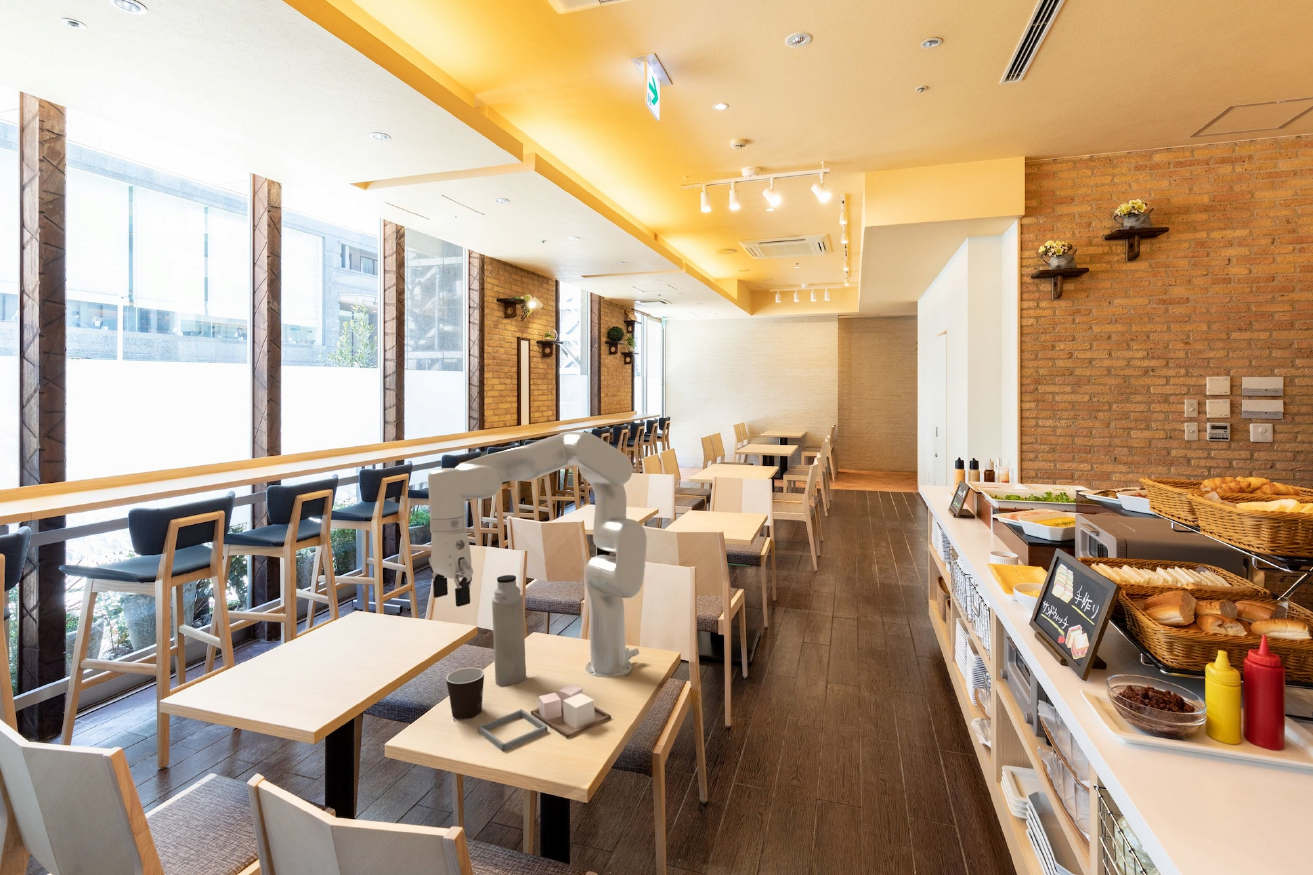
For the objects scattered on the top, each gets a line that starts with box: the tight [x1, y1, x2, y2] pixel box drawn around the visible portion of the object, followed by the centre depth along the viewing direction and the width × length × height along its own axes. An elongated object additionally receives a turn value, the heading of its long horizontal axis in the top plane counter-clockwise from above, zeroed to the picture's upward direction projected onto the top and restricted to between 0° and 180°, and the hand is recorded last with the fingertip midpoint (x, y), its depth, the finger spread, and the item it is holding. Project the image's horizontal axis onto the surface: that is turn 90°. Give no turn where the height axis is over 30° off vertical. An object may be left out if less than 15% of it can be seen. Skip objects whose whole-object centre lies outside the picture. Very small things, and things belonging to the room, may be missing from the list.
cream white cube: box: [563, 693, 595, 729], centre depth 145 cm, size 5×5×5 cm
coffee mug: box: [445, 667, 485, 722], centre depth 152 cm, size 12×9×10 cm
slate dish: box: [477, 708, 548, 752], centre depth 141 cm, size 11×11×2 cm
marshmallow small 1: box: [558, 684, 584, 708], centre depth 152 cm, size 4×4×4 cm
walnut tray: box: [530, 705, 612, 739], centre depth 147 cm, size 12×15×2 cm
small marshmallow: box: [538, 692, 561, 720], centre depth 148 cm, size 4×4×4 cm
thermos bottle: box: [491, 574, 527, 688], centre depth 168 cm, size 8×8×28 cm
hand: (451, 600), depth 142 cm, fingers open, 9 cm apart
